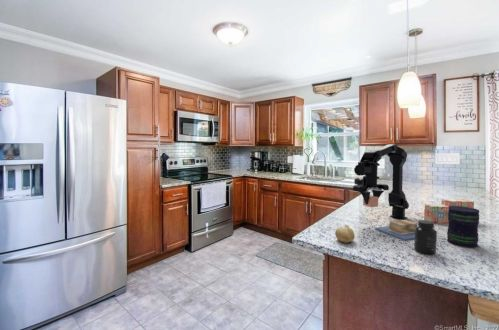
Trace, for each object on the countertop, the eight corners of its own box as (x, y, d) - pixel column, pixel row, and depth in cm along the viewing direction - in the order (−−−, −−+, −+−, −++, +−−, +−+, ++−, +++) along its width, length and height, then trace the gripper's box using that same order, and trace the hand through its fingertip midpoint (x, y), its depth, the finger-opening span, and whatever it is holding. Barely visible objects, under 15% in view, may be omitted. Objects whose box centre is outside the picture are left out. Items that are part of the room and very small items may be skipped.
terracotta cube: (370, 204, 127) (370, 195, 127) (378, 206, 122) (378, 197, 122) (363, 205, 125) (363, 195, 125) (370, 207, 121) (370, 197, 120)
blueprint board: (401, 225, 123) (401, 223, 123) (433, 235, 108) (433, 234, 108) (374, 229, 118) (374, 227, 118) (404, 240, 103) (404, 238, 102)
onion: (356, 245, 98) (357, 228, 98) (337, 244, 99) (337, 227, 99) (351, 238, 106) (352, 223, 106) (333, 237, 107) (333, 222, 107)
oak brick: (405, 227, 117) (405, 219, 117) (416, 231, 111) (417, 223, 111) (389, 229, 114) (389, 221, 114) (400, 233, 109) (400, 225, 108)
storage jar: (471, 250, 92) (473, 212, 92) (442, 241, 101) (443, 207, 100) (482, 245, 97) (484, 209, 96) (453, 237, 106) (454, 205, 105)
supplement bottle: (409, 248, 94) (410, 219, 94) (425, 247, 95) (426, 218, 94) (424, 256, 87) (425, 224, 87) (440, 255, 88) (442, 224, 87)
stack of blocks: (431, 223, 127) (432, 201, 127) (423, 219, 134) (424, 198, 133) (473, 223, 126) (474, 201, 125) (463, 220, 132) (464, 198, 131)
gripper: (372, 172, 133) (372, 199, 134) (345, 173, 128) (345, 202, 129) (389, 174, 123) (389, 203, 124) (361, 175, 117) (360, 206, 118)
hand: (370, 203), depth 124 cm, fingers closed on terracotta cube, 5 cm apart
